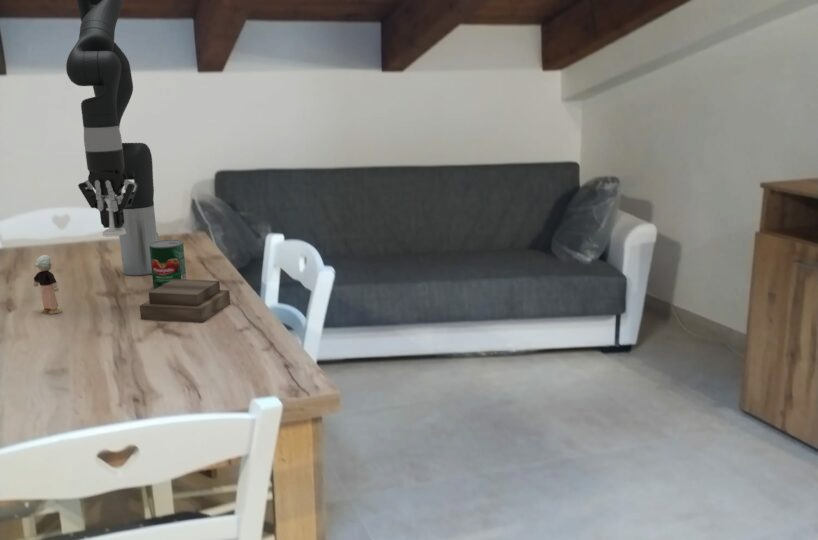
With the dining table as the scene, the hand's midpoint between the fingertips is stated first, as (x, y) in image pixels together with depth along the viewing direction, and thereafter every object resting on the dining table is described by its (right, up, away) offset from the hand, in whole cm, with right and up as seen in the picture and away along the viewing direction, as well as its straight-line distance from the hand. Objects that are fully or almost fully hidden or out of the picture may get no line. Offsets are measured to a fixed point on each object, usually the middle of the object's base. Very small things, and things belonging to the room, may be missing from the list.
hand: (113, 226), depth 175 cm
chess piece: (0, -2, 0) cm, 2 cm away
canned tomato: (+7, -14, +18) cm, 24 cm away
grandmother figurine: (-14, -19, 0) cm, 23 cm away
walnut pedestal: (+16, -18, -1) cm, 25 cm away
